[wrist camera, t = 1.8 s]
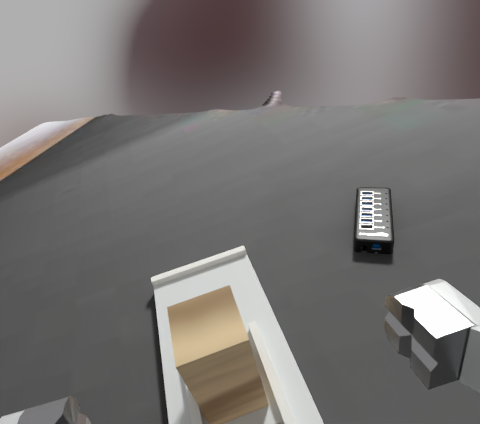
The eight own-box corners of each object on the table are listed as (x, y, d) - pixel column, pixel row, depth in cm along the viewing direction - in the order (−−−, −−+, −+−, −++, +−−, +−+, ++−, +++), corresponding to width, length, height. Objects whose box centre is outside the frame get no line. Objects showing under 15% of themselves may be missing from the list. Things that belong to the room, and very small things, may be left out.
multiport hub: (389, 200, 49) (390, 187, 47) (392, 256, 41) (394, 242, 39) (356, 199, 50) (356, 186, 49) (353, 253, 42) (354, 240, 41)
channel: (372, 539, 22) (374, 531, 21) (197, 621, 21) (185, 619, 19) (246, 258, 44) (243, 244, 43) (157, 289, 43) (150, 276, 42)
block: (269, 405, 29) (248, 339, 22) (211, 428, 28) (175, 367, 22) (250, 352, 32) (229, 284, 26) (200, 372, 32) (166, 307, 26)
